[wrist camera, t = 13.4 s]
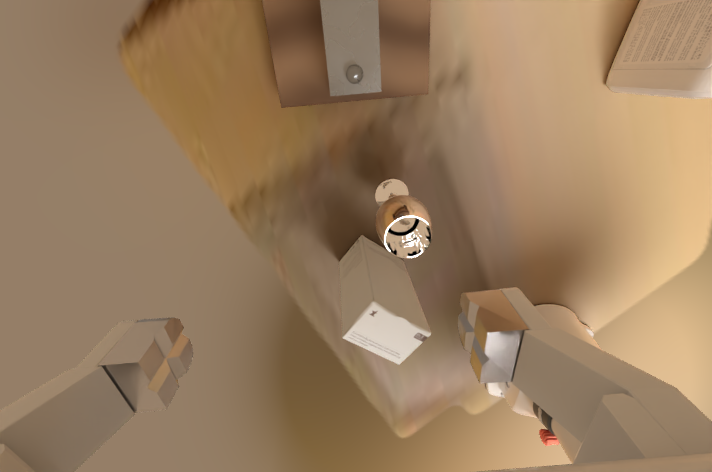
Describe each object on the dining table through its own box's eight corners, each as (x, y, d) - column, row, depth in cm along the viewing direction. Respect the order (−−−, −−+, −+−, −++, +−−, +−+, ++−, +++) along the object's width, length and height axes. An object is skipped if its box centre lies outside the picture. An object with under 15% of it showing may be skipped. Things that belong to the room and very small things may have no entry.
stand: (419, 92, 35) (428, 94, 31) (288, 104, 35) (281, 107, 31) (421, -47, 29) (432, -65, 25) (264, -32, 29) (253, -47, 26)
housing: (370, -41, 26) (376, -69, 21) (376, 89, 31) (382, 92, 26) (319, -36, 26) (312, -63, 21) (332, 93, 31) (329, 96, 26)
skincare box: (338, 261, 45) (335, 338, 32) (362, 231, 43) (370, 300, 29) (382, 287, 47) (397, 369, 34) (408, 260, 45) (434, 336, 32)
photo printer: (632, 95, 35) (760, 104, 24) (597, 91, 35) (711, 98, 24) (684, -17, 31) (872, -69, 20) (644, -22, 30) (812, -78, 19)
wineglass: (420, 179, 39) (447, 218, 29) (405, 219, 42) (425, 268, 31) (377, 168, 38) (389, 203, 28) (364, 209, 41) (371, 256, 30)
